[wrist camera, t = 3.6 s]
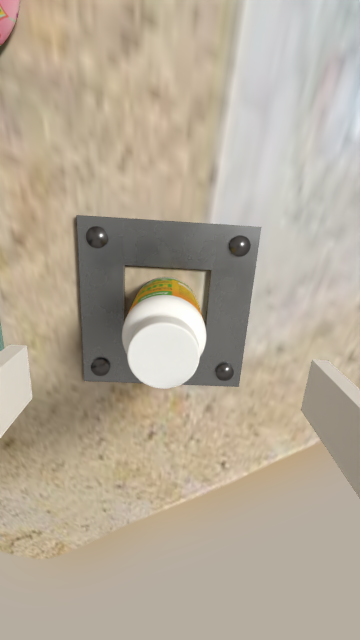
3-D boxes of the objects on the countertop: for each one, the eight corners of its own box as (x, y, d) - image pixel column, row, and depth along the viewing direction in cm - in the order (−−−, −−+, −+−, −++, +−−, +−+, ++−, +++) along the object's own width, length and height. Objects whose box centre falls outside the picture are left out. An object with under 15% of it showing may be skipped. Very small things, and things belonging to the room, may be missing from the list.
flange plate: (237, 383, 28) (239, 388, 27) (86, 377, 27) (83, 382, 26) (258, 226, 23) (262, 227, 22) (78, 215, 23) (75, 215, 22)
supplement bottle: (172, 262, 24) (173, 288, 15) (210, 313, 26) (232, 365, 16) (121, 301, 25) (92, 348, 16) (160, 348, 26) (155, 416, 17)
